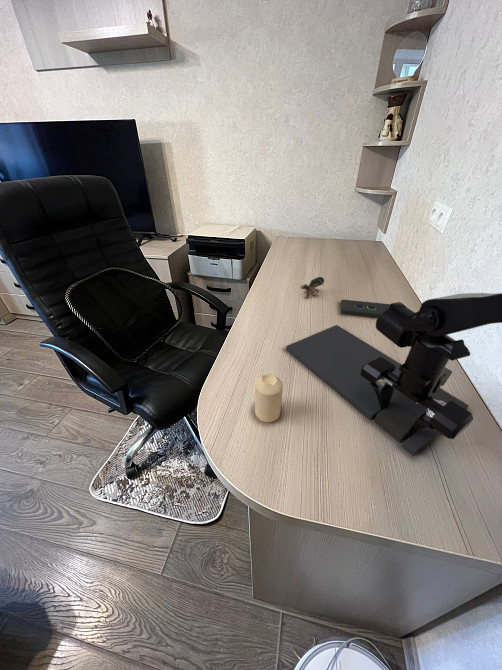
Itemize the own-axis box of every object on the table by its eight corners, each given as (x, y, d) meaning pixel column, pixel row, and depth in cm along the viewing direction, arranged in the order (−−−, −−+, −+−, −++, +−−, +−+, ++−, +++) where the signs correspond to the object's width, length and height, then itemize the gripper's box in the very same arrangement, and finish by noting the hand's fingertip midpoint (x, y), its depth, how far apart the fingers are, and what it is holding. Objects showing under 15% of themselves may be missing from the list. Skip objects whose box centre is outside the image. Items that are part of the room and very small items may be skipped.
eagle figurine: (321, 298, 101) (328, 285, 106) (312, 282, 98) (319, 269, 103) (304, 303, 106) (311, 290, 112) (294, 288, 103) (302, 276, 109)
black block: (417, 428, 57) (421, 420, 55) (399, 442, 54) (403, 434, 53) (391, 408, 61) (394, 401, 59) (373, 421, 58) (376, 413, 57)
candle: (271, 427, 57) (273, 393, 51) (249, 414, 60) (249, 380, 54) (285, 410, 61) (288, 377, 55) (264, 398, 63) (265, 365, 58)
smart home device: (341, 298, 100) (400, 304, 96) (340, 302, 101) (399, 309, 97) (342, 309, 93) (406, 316, 89) (341, 314, 94) (404, 321, 90)
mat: (466, 410, 61) (469, 405, 60) (412, 456, 52) (415, 451, 51) (336, 328, 87) (336, 324, 86) (285, 350, 78) (286, 345, 77)
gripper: (508, 377, 45) (465, 436, 54) (403, 324, 58) (382, 379, 67) (475, 406, 40) (434, 465, 49) (368, 341, 53) (351, 398, 62)
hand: (397, 421), depth 57 cm, fingers closed on black block, 6 cm apart
